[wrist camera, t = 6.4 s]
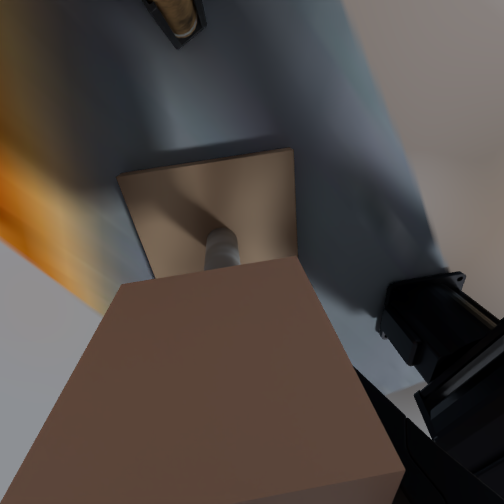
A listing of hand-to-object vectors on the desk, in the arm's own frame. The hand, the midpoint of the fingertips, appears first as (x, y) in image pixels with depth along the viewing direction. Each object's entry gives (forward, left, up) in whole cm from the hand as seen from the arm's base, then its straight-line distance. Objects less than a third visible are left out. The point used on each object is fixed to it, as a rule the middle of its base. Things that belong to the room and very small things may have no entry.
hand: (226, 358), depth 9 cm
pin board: (0, 0, -10) cm, 10 cm away
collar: (0, 0, -1) cm, 1 cm away
